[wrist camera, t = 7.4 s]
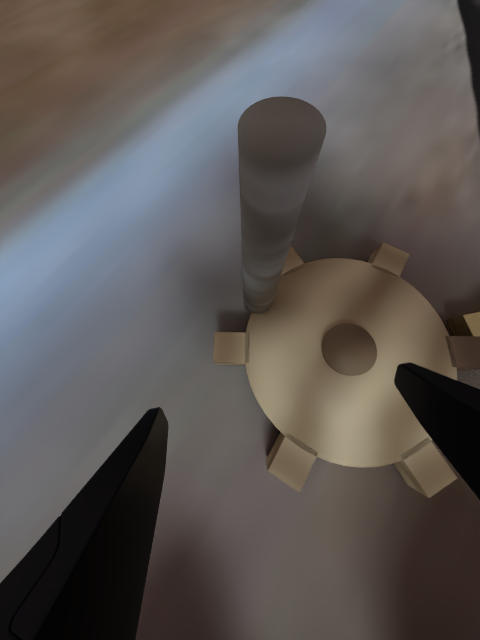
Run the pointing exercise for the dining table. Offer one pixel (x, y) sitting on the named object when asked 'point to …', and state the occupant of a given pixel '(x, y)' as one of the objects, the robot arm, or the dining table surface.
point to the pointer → (465, 325)
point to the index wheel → (328, 322)
